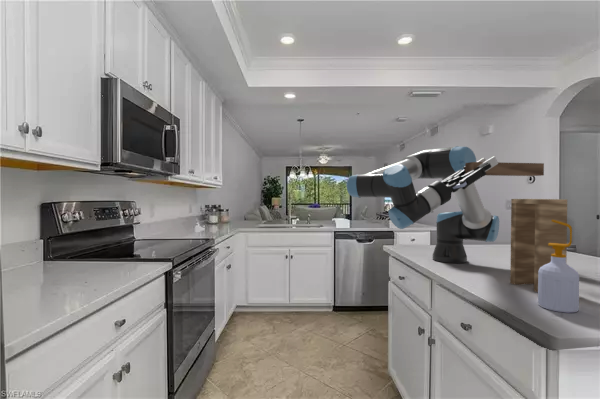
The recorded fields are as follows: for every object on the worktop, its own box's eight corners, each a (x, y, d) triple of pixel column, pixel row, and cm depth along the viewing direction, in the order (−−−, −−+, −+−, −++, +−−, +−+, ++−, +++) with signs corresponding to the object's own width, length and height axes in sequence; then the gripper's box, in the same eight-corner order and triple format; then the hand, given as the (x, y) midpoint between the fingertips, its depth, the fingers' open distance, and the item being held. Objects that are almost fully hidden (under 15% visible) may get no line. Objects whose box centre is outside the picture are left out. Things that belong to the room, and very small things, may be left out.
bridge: (510, 283, 121) (511, 198, 121) (534, 282, 123) (535, 198, 122) (539, 293, 109) (540, 199, 109) (565, 291, 111) (567, 199, 111)
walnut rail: (465, 175, 113) (465, 163, 113) (533, 176, 117) (533, 164, 117) (473, 174, 109) (473, 161, 109) (543, 175, 114) (543, 163, 113)
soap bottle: (539, 300, 102) (540, 218, 101) (578, 307, 96) (580, 219, 96) (536, 308, 95) (537, 220, 94) (578, 315, 89) (580, 221, 89)
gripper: (424, 205, 118) (477, 172, 121) (455, 207, 101) (515, 168, 104) (414, 186, 117) (468, 153, 120) (443, 185, 100) (505, 147, 104)
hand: (490, 160), depth 112 cm, fingers closed on walnut rail, 4 cm apart
